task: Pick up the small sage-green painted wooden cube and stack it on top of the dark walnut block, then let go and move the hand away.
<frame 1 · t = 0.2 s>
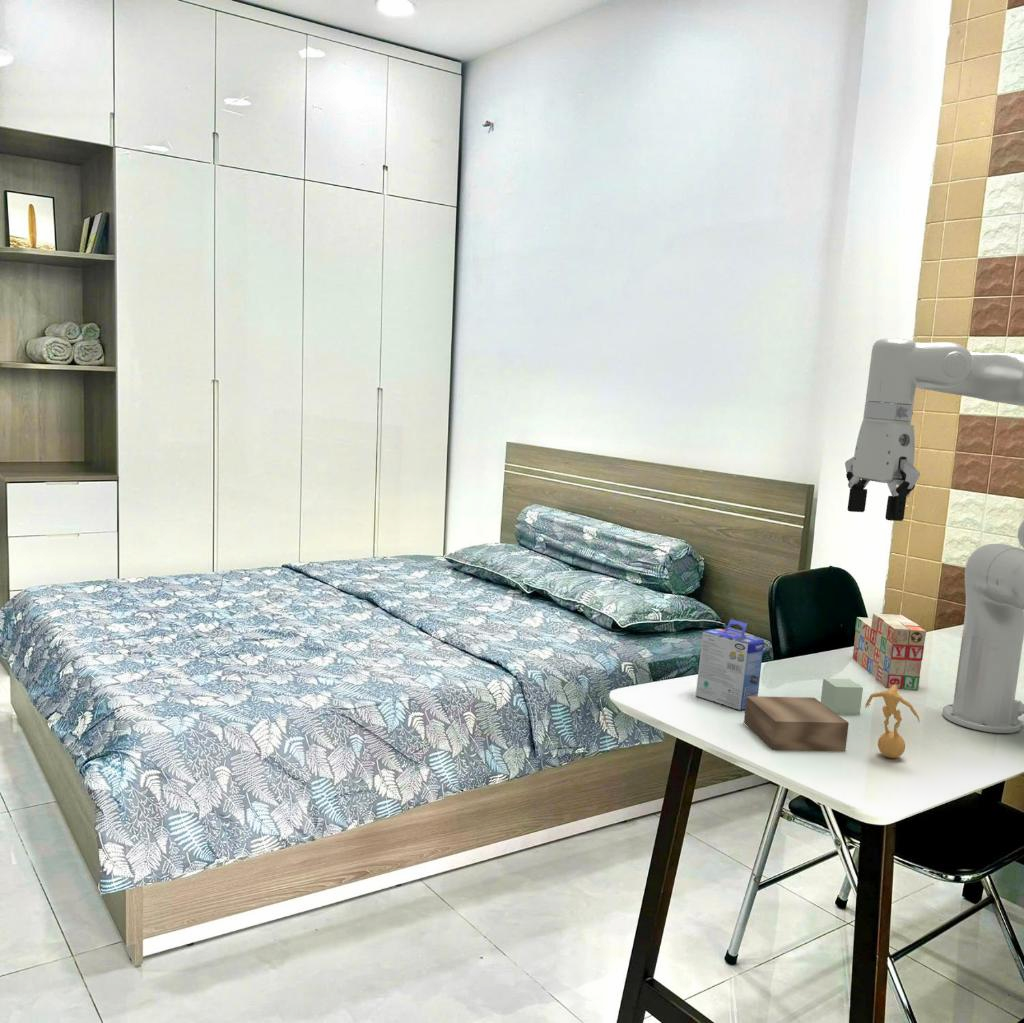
hand: (874, 515, 164), 35 cm above the table, tool pointing down, fingers open, 9 cm apart
walnut block: (792, 738, 157), on the table
stack of blocks: (883, 675, 199), on the table
figurine: (887, 760, 150), on the table
sage cube: (839, 709, 173), on the table
ink cartridge box: (726, 702, 173), on the table
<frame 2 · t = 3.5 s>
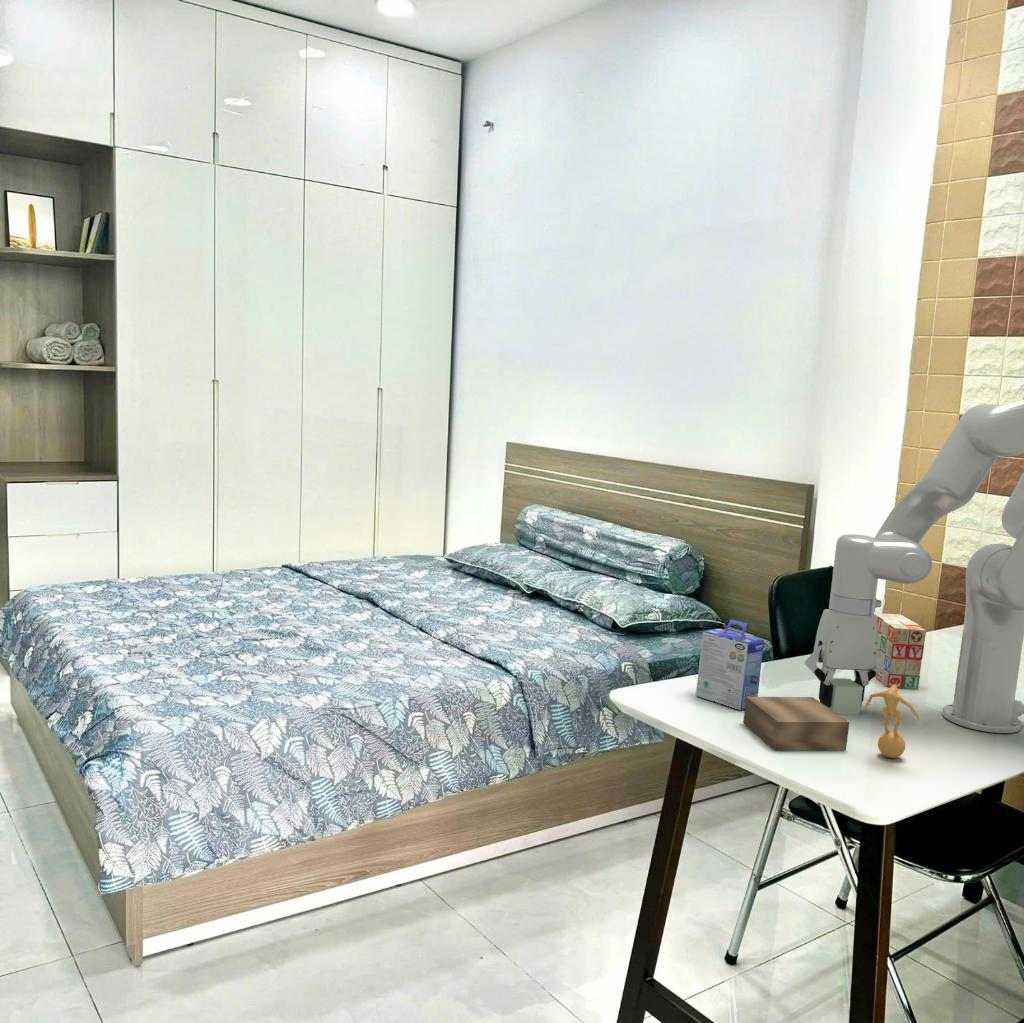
hand: (840, 704, 173), 1 cm above the table, tool pointing down, fingers closed on sage cube, 5 cm apart
sage cube: (839, 709, 173), on the table, touching gripper
everything else where it was.
when the fingers open (7 cm above the table, at t = 9.0 s): sage cube drops 2 cm, resting on walnut block.
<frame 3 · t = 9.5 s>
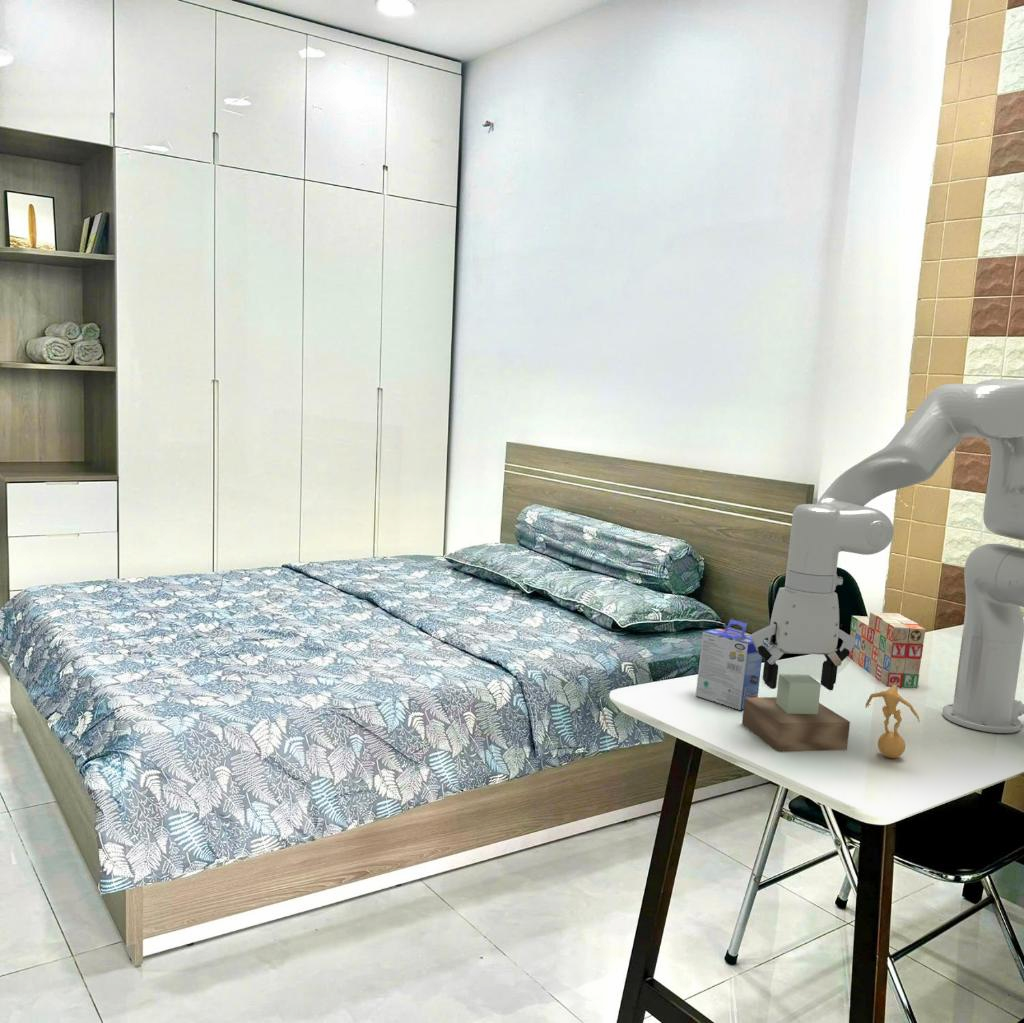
hand: (798, 686, 156), 8 cm above the table, tool pointing down, fingers open, 9 cm apart
walnut block: (792, 739, 157), on the table, touching sage cube
sage cube: (796, 708, 157), point 5 cm above the table, touching walnut block
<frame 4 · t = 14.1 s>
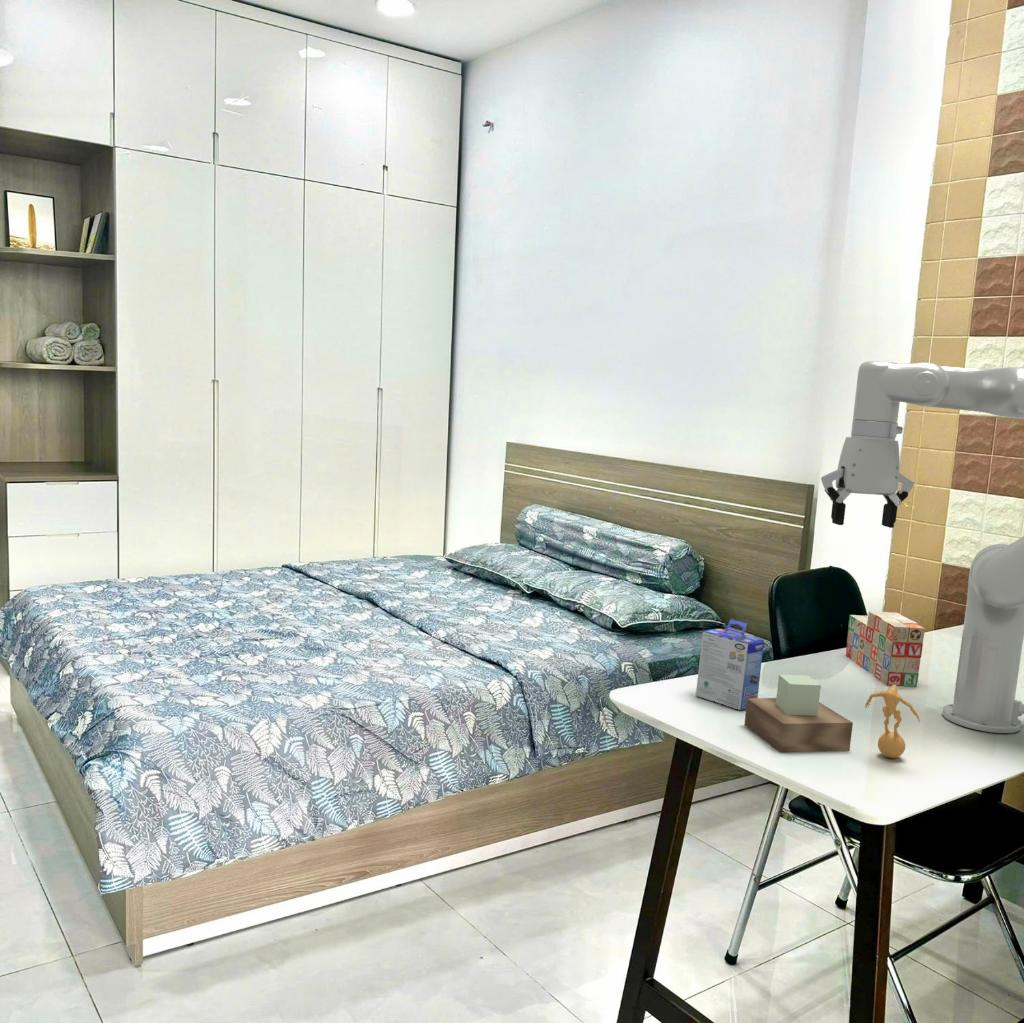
hand: (862, 525, 176), 32 cm above the table, tool pointing down, fingers open, 9 cm apart
at the end: sage cube inside the target area on the walnut block (0.4 cm from its centre), point 5.0 cm above the walnut block's base; sage cube tilted 0°; the gripper is holding nothing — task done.
